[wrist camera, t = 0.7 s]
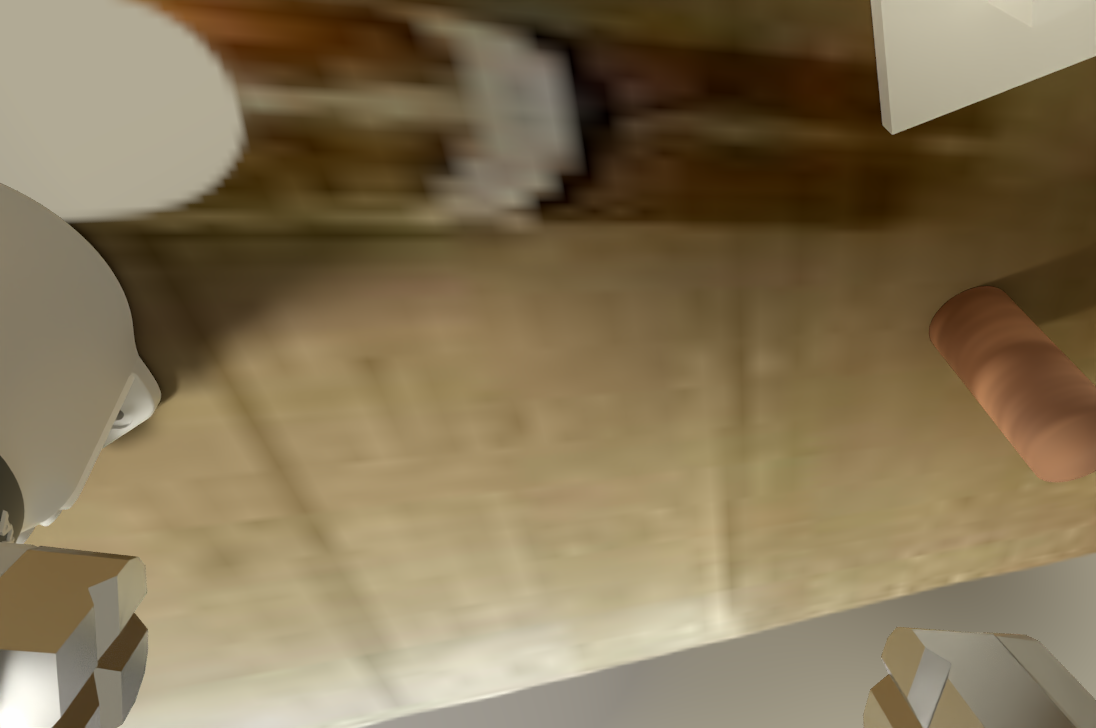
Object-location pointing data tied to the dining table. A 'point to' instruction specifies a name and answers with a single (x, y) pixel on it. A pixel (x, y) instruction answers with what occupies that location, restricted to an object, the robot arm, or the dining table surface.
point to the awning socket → (970, 51)
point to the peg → (1020, 381)
